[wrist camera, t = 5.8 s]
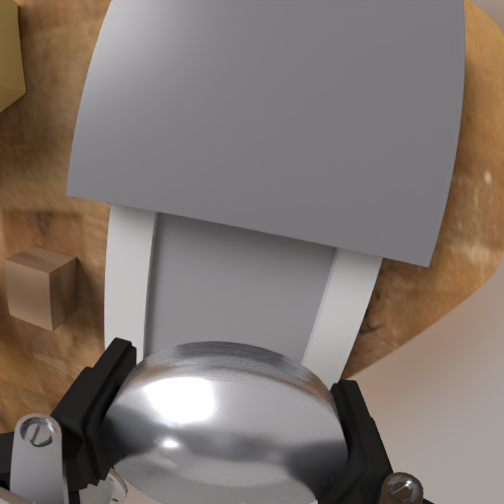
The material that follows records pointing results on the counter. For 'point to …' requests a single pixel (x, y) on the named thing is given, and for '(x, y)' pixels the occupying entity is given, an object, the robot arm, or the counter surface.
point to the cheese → (10, 55)
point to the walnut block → (41, 286)
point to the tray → (232, 289)
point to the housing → (279, 117)
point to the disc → (225, 427)
